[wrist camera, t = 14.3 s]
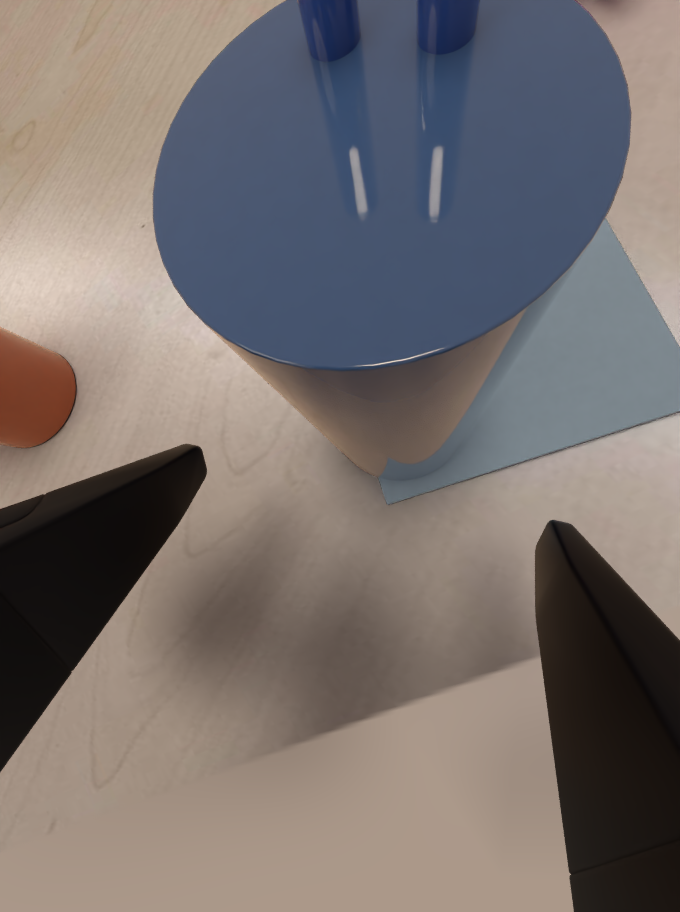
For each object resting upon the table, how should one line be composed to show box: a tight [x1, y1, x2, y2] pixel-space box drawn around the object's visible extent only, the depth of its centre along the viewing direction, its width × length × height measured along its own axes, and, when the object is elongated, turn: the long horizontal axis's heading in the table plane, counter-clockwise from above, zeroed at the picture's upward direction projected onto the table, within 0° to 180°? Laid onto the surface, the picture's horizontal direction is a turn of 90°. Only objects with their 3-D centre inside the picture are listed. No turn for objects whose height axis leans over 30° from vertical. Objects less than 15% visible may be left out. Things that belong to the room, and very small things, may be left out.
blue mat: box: [378, 218, 680, 505], centre depth 18 cm, size 18×14×1 cm
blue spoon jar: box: [153, 0, 631, 481], centre depth 10 cm, size 6×6×16 cm
